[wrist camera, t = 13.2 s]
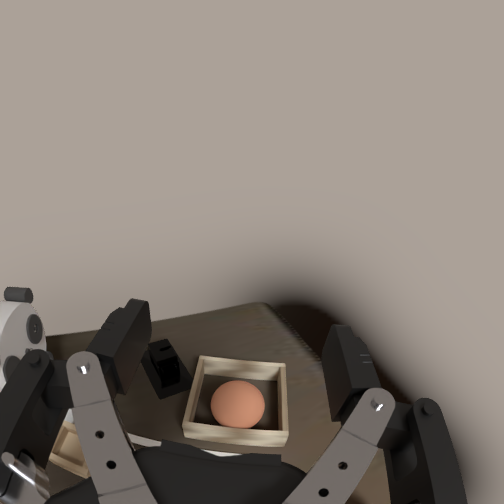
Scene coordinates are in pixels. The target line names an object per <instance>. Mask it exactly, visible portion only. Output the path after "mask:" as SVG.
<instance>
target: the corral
mask: <svg viewBox="0 0 504 504" xmlns="http://www.w3.org/2000/svg"><path fill="white" fill-rule="evenodd" d="M204 374H210V375H218V376H226V377H235V378H246V379H258V380H273V381H278V431H272V430H254V429H241V428H231V427H222V426H214V425H207V424H200V423H193V422H194V417H195V413H196V408H197V404H198V399H199V395H200V391H201V386H202V382H203V377H204ZM182 427H183V432H184V436H185V437H187V438H192V439H199V440H205V441H212V442H220V443H229V444H239V445H252V446H270V447H284V445H285V443H286V440H287V438H288V436H289V435H288V411H287V390H286V371H285V364H284V363H268V362H255V361H244V360H234V359H224V358H216V357H208V356H200V357H199V361H198V365H197V369H196V372H195V376H194V380H193V384H192V388H191V392H190V396H189V399H188V403H187V407H186V411H185V415H184V419H183V423H182Z"/></svg>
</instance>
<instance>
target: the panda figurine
mask: <svg viewBox="0 0 504 504" xmlns="http://www.w3.org/2000/svg"><path fill="white" fill-rule="evenodd" d="M4 298H5V300H6V301H0V392H1V391H2V389H3V387H4V386H5V384H6V382H7V381H8V379H9V378H10V376H11V374H12V373H13V371H14V370H15V368H16V367H17V365H18V364H19V362H20V361H21V359H22V358H23V356H24V355H25V354H26V353H27V352H29V351H31V350H34V349H41V350H44V351H46V338H45V332H44V328H43V324H42V322H41V319H40V317H39V315H38V313H37V312H36V310H35V309H34V307H33V306H32V305H31V304H30V303H32V301H33V293H32V291H31V290H30V288H19V287H7V288H6V289H5V291H4ZM46 352H47V353H48V355H49V357H50V359H51V360H54V358H53V355H52V353H51V352H50V351H46ZM64 420H65V421H68V422H70V423H73V422H74V420H73V416H72V410H71V409H69V410H68V412H67V414H66V417H65V419H64Z"/></svg>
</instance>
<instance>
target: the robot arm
mask: <svg viewBox="0 0 504 504" xmlns="http://www.w3.org/2000/svg"><path fill="white" fill-rule="evenodd" d="M151 333H152V327H151V319H150V310H149V303H148V302H147V301H143V300H138V299H133V298H132V299H130V300H129V302H128V303H127V305H126V306H125V308H120V307H119V308H118V309H116V310H115V311H113V312H112V313H111V314H110V315H109V316H108V318H107V319H106V321H105V323H104V324H103V325H102V327H101V329H100V330H99V331H98V333H97V334H96V336H95V337H94V339H93V340H92V342H91V343H90V345H89V346H88V348H87V349H86V351H82V352H78V353H75V354H74V355H72V356H71V357H70V358H69V359H68V360H51V359H50V357H49V355H48V353H47V352H46V351H44V350H41V349H34V350H31V351H29V352H27V353H26V354H25V355H24V356H23V358H22V359H21V361H20V362H19V364H18V365H17V367H16V368H15V370H14V371H13V373H12V374H11V376H10V378H9V379H8V381H7V382H6V384H5V386H4V387H3V389H2V391H1V392H0V502H1V503H2V504H345V503H346V501H347V500H348V498H349V497H350V495H351V494H352V492H353V491H354V489H355V488H356V486H357V484H358V483H359V481H360V480H361V478H362V476H363V475H364V473H365V471H366V470H367V468H368V466H369V464H370V463H371V461H372V459H373V457H374V456H375V454H376V452H377V449H378V448H381V449H383V451H384V457H385V463H386V470H387V477H388V484H389V492H390V500H391V504H467V499H466V494H465V489H464V485H463V481H462V477H461V473H460V469H459V465H458V462H457V458H456V455H455V451H454V448H453V445H452V441H451V438H450V435H449V432H448V429H447V426H446V423H445V420H444V417H443V414H442V412H441V409H440V407H439V406H438V404H437V403H436V402H435V401H433V400H431V399H429V398H421V399H418V400H417V401H416V402H415V403H414V404H413V405H409V404H404V403H399V402H396V401H395V400H394V398H393V396H392V395H391V394H390V393H389V392H388V391H386V390H384V389H382V388H381V386H380V382H379V379H378V376H377V374H376V371H375V368H374V365H373V363H372V359H371V357H370V356H369V351H368V348H367V346H366V344H365V343H364V342H363V341H362V340H361V339H360V338H358V337H354V335H353V332H352V330H351V327H350V326H348V325H332V327H331V329H330V332H329V335H328V337H327V340H326V343H325V345H324V348H323V351H322V367H323V372H324V378H325V383H326V389H327V395H328V401H329V407H330V413H331V419H332V422H338V421H341V426H342V427H341V428H340V430H339V431H338V433H337V434H336V435H335V437H334V438H333V440H332V441H331V442H330V444H329V445H328V447H327V448H326V449H325V451H324V452H323V453H322V455H321V456H320V457H319V458H318V460H317V461H316V462H315V463H314V465H313V466H312V467H311V468H310V469H309V471H308V472H307V473H305V472H304V471H302V470H301V469H299V468H297V467H295V466H293V465H291V464H288V463H285V462H281V455H277V454H257V453H249V454H241V455H232V456H217V455H214V454H212V453H209V452H206V451H204V450H201V449H199V448H196V447H194V446H191V445H187V444H182V443H177V442H172V441H167V440H163V439H162V442H161V445H160V446H151V447H145V448H141V449H138V450H136V451H135V449H134V446H133V444H132V442H131V440H130V438H129V436H128V434H127V431H126V429H125V427H124V424H123V422H122V419H121V417H120V414H119V411H118V409H117V406H116V403H115V401H114V398H115V396H116V394H117V393H119V394H123V395H126V393H127V390H128V388H129V386H130V384H131V381H132V379H133V377H134V374H135V372H136V370H137V368H138V365H139V363H140V361H141V359H142V357H143V354H144V352H145V350H146V348H147V346H148V344H149V341H150V338H151ZM69 409H71V410H72V416H73V420H74V424H75V428H76V431H77V435H78V438H79V442H80V445H81V448H82V452H83V455H84V458H85V461H86V464H87V466H88V469H89V472H90V475H91V476H90V477H88V478H86V479H84V480H83V481H81V482H79V483H77V484H75V485H73V486H71V487H69V488H67V489H65V490H63V491H61V492H59V493H57V494H55V495H53V496H51V497H50V495H49V490H50V486H49V478H48V475H47V473H46V472H45V471H44V470H45V468H46V465H47V462H48V459H49V457H50V454H51V451H52V449H53V446H54V443H55V441H56V438H57V436H58V433H59V431H60V429H61V426H62V424H63V421H64V419H65V417H66V414H67V412H68V410H69Z"/></svg>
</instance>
